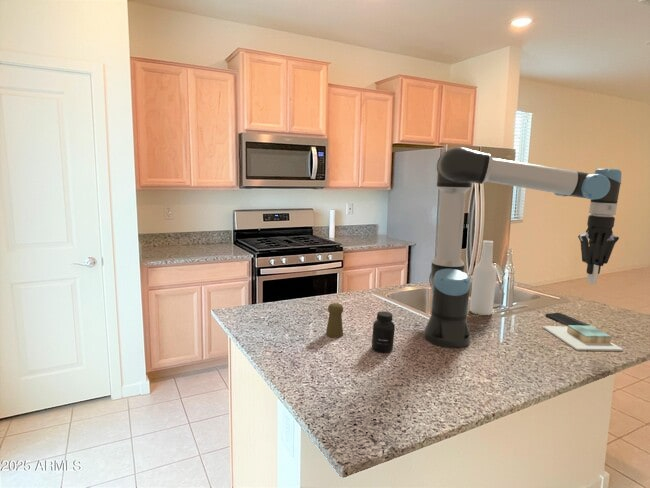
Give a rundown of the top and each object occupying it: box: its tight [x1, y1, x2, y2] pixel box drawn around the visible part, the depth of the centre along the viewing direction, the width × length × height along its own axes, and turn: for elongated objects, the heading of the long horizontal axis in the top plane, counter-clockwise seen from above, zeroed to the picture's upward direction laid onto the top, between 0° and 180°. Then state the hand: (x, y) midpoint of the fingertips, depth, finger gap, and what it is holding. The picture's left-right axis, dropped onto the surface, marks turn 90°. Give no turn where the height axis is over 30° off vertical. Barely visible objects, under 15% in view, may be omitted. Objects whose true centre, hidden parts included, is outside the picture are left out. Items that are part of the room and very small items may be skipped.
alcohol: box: [469, 239, 498, 316], centre depth 168 cm, size 9×9×30 cm
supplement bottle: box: [371, 310, 396, 354], centre depth 131 cm, size 7×7×12 cm
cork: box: [325, 302, 344, 339], centre depth 142 cm, size 6×6×11 cm
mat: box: [542, 325, 624, 352], centre depth 147 cm, size 16×20×1 cm
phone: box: [545, 312, 591, 326], centre depth 164 cm, size 8×1×15 cm
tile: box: [567, 325, 612, 343], centre depth 146 cm, size 10×2×9 cm
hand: (591, 283), depth 143 cm, fingers closed
